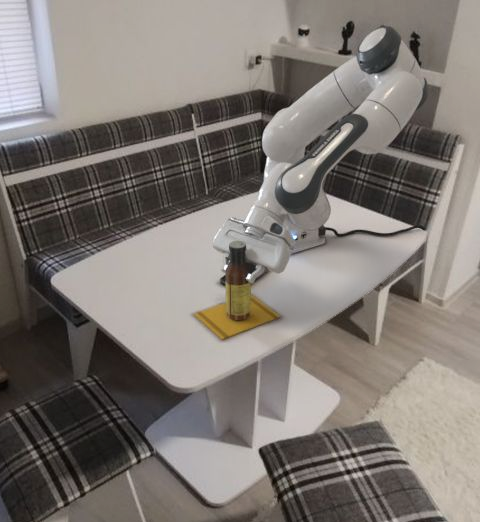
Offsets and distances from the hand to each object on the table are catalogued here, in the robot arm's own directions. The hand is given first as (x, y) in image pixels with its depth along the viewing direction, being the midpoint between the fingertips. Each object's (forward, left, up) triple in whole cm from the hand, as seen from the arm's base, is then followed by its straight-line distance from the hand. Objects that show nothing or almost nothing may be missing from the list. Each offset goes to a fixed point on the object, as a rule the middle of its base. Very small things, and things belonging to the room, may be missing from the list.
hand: (236, 277), depth 127 cm
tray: (-1, 0, -12) cm, 12 cm away
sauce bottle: (-1, 0, -11) cm, 12 cm away
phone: (-11, -18, -12) cm, 24 cm away
